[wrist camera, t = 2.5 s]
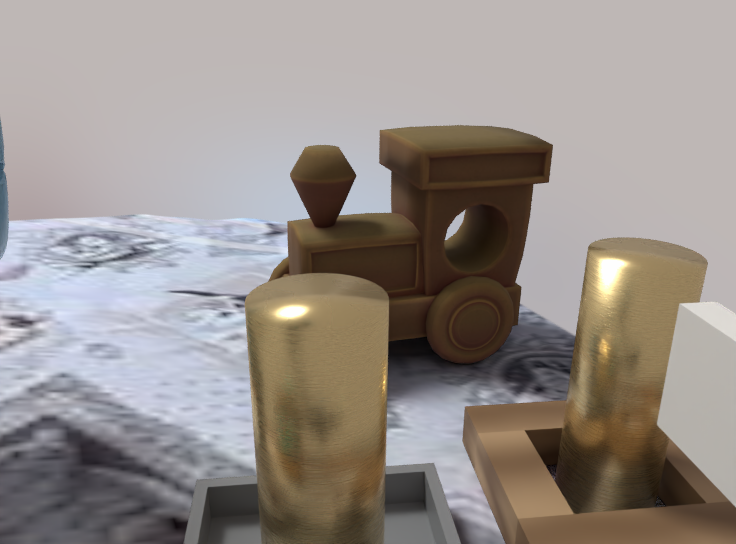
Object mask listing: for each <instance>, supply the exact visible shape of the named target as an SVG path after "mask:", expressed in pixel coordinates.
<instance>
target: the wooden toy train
mask: <svg viewBox="0 0 736 544" xmlns="http://www.w3.org/2000/svg"><path fill="white" fill-rule="evenodd" d="M552 149H553V145H552V144H549V143H548V142H546V141H544V140H542V139H540V138H538V137H536V136H533V135H530V134H526V133H523V132H520V131H516V130H513V129H509V128H501V127H492V126H463V125H460V126H459V125H457V126H456V125H455V126H426V127H406V128H397V129H387V130H380V154H379V159H380V161H379V163H380V164H381V165H383V166H385V167H386V168H388V169H390V170H391V171H392V173H391V175H392V176H391V208H392V213H365V214H352V215H339V213H340V211H341V209H342V207H343V205H344V202H345V200H346V198H347V196H348V193H349V191H350V189H351V186H352V184H353V182H354V180H355V178H356V174H355V172H354V171H353V169H352V167H351V166H350V164H349V163H348V161H347V159H346V158H345V156H344V155H343V153H342V152H341V150H340V149H339V147H336V146H330V145H315V146H308V147H305V149H304V150H303V152H302V154H301V156H300V157H299V159H298V161H297V163H296V164H295V166H294V168H293V170H292V171H291V173H290V177H291V179H292V181H293V183H294V185H295V187H296V189H297V191H298V193H299V195H300V198H301V200H302V202H303V203H304V206H305V208H306V210H307V212H308V214H309V216H310V218H309V219H302V220H295V221H288V222H287V223H288V257H287V258H286V259H284V260H283V261H282V262H281V263H280V264H279V265H278V266H277V267H276V268H275V269H274V271H273V273H272V275H271V277H270V279H269V281H272V280H275V279H278V278H282V277H287V276H292V275H299V274H309V273H334V274H344V275H350V276H355V277H359V278H363V279H366V280H368V281H371V282H373V283H375V284H377V285H379V286H380V287H382V288H383V289H384V290H385V291H386V293H387V294H388V297H389V328H388V341H396V340H404V339H412V338H419V337H427V340H428V342H429V344H430V346H431V347H432V349H433V351H434V352H435V353H437V354H438V355H439V356H440V357H441V358H442V359H445V360H448V361H451V362H453V363H467V364H471V363H474V362H478V361H481V360H484V359H486V358H487V357H489V356H490V355H492V354H494V353H495V352H496V351H497V350H498V349H499V348H500V347H501V346H502V345H503V344H504V343H505V341H506V339H507V337H508V336H509V334H510V332H511V329H512V326H514V325H518V316H519V306H520V296H521V286H519V285H518V284H517V283H515V281H516V278H517V274H518V271H519V267H520V264H521V260H522V256H523V251H524V247H525V241H526V236H527V230H528V224H529V218H530V210H531V201H532V192H533V184H538V183H547V182H549V176H550V166H551V158H552ZM465 209H466V211H465V215H464V220H463V223H462V225H461V226H460V228H459V229H458V231H457V232H456V233H455V234H454V235H453V236H451V237H450V238H449V239H448V240H445V237H446V233H447V229H448V227H449V226H450V224H451V223H452V221H453V220H454V219H455V217H456V216H457V215H459V214H460V213H461V212H463V211H464V210H465ZM269 281H268V282H269Z"/></svg>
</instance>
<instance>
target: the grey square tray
mask: <svg viewBox="0 0 736 544" xmlns="http://www.w3.org/2000/svg"><path fill="white" fill-rule="evenodd" d="M184 544H261V530H260V516H259V501H258V487H257V476H244V477H230V478H216V479H202V480H197V481H196V486H195V491H194V496H193V500H192V505H191V510H190V515H189V520H188V525H187V530H186V534H185V539H184ZM384 544H461V542H460V539H459V536H458V533H457V530H456V527H455V524H454V521H453V518H452V515H451V512H450V509H449V506H448V504H447V501H446V498H445V495H444V492H443V489H442V486H441V483H440V480H439V477H438V474H437V471H436V468H435V465H434V463H427V464H413V465H399V466H386V476H385V526H384Z"/></svg>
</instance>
